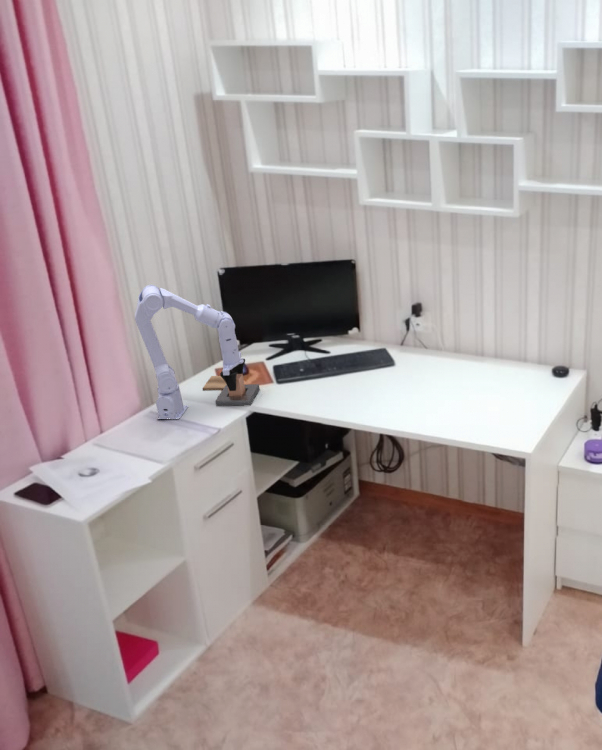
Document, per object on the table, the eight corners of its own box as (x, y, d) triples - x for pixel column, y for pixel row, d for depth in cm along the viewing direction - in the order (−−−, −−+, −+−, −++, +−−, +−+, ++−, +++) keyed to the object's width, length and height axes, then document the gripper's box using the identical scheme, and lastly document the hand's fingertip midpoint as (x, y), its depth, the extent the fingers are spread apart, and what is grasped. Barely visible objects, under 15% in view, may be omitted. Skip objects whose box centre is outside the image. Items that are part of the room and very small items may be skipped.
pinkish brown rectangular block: (242, 400, 296) (238, 379, 293) (230, 400, 297) (226, 379, 294) (246, 394, 300) (242, 373, 297) (234, 395, 301) (230, 374, 298)
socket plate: (250, 405, 292) (249, 400, 291) (216, 406, 295) (215, 400, 294) (259, 389, 302) (258, 384, 301) (226, 390, 305) (226, 384, 304)
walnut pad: (229, 390, 305) (229, 387, 305) (202, 390, 308) (202, 388, 307) (237, 377, 314) (237, 375, 313) (211, 377, 316) (211, 375, 316)
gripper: (234, 357, 284) (241, 394, 289) (246, 339, 296) (253, 375, 302) (214, 358, 285) (221, 395, 291) (227, 340, 298) (234, 376, 304)
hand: (236, 385), depth 297 cm, fingers open, 7 cm apart
